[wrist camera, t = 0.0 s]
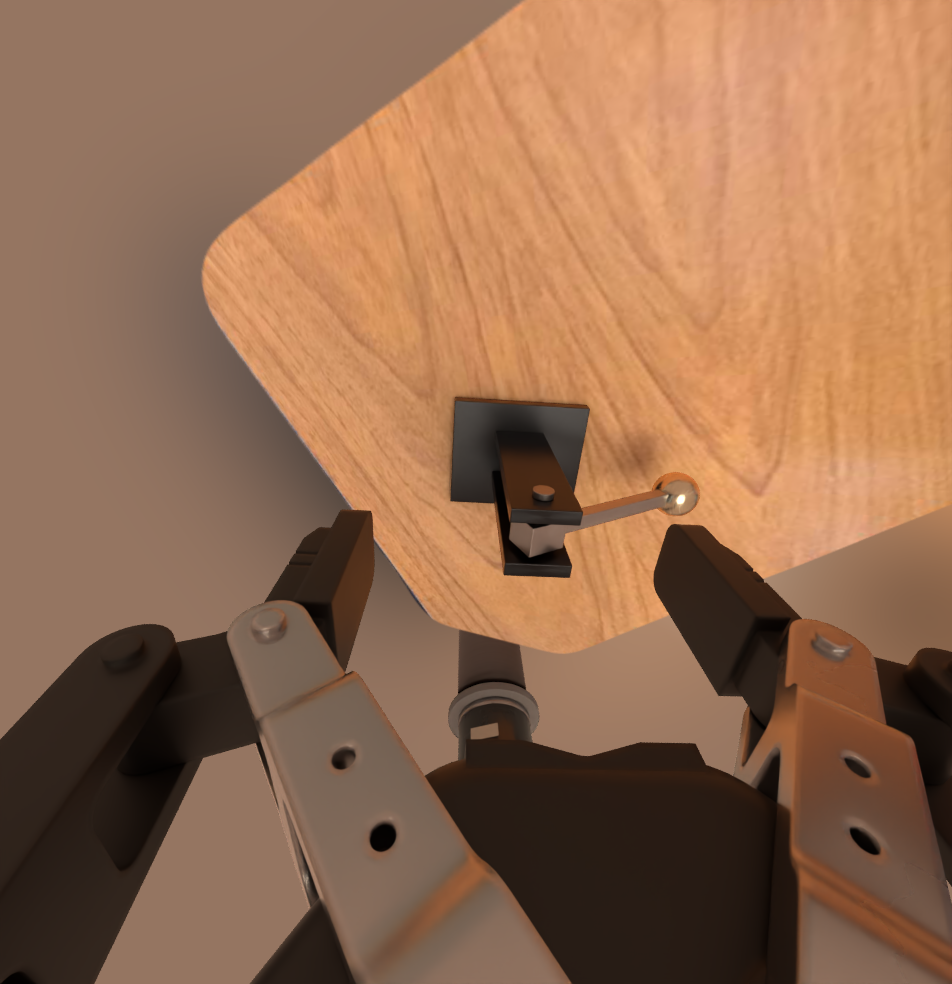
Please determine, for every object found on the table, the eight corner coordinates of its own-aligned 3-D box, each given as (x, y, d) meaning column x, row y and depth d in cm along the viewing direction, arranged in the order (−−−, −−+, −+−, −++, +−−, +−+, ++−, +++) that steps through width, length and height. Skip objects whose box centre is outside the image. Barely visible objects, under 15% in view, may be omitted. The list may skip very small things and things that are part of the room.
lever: (676, 462, 36) (715, 479, 34) (665, 500, 38) (701, 519, 35) (508, 497, 28) (540, 523, 26) (502, 543, 30) (533, 572, 27)
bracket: (586, 405, 39) (655, 477, 25) (568, 501, 43) (618, 609, 29) (455, 397, 38) (449, 467, 24) (450, 495, 43) (443, 603, 29)
